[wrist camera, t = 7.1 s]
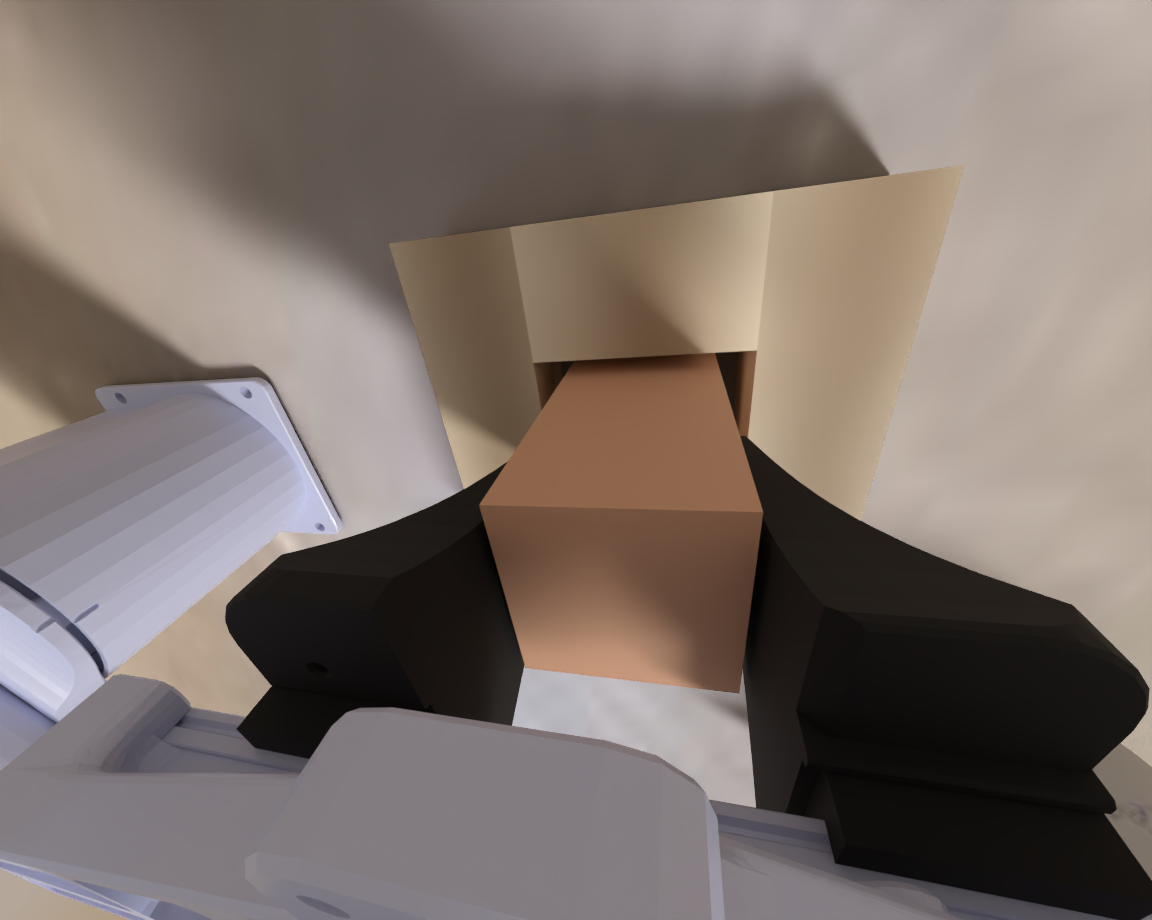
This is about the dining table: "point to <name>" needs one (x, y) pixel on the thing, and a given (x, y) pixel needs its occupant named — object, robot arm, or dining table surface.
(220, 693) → the dining table surface
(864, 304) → the birch socket block
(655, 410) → the terracotta peg
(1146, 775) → the teacup
